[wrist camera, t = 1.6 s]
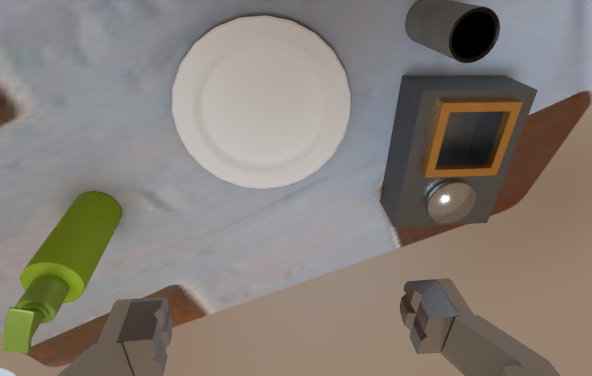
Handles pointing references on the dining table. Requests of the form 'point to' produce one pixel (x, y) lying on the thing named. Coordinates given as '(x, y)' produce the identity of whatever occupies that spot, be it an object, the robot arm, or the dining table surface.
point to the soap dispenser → (61, 266)
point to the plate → (261, 102)
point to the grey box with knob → (452, 147)
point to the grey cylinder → (453, 28)
